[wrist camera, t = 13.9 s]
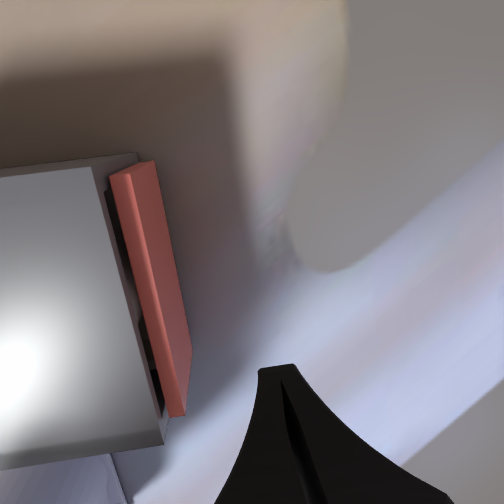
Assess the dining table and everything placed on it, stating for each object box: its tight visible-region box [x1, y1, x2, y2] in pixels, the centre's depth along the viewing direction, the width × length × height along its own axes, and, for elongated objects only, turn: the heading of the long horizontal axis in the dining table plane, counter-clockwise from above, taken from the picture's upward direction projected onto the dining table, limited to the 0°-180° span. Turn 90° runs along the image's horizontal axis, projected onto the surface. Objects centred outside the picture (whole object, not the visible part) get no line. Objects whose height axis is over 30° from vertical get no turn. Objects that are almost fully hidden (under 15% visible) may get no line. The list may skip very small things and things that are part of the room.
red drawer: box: [103, 161, 193, 418], centre depth 18 cm, size 12×11×6 cm
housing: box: [0, 152, 169, 471], centre depth 18 cm, size 13×11×7 cm
